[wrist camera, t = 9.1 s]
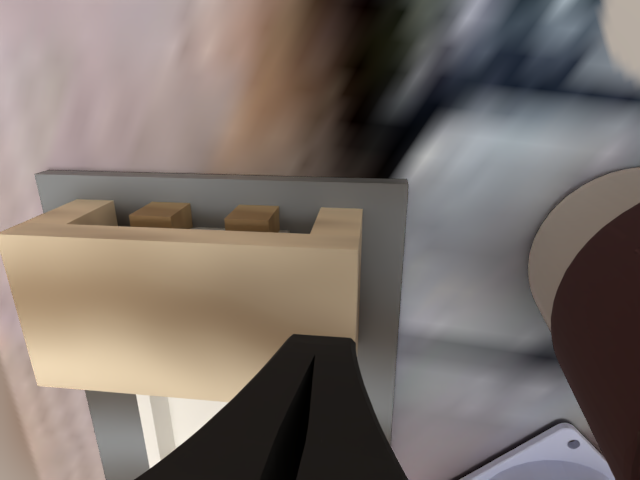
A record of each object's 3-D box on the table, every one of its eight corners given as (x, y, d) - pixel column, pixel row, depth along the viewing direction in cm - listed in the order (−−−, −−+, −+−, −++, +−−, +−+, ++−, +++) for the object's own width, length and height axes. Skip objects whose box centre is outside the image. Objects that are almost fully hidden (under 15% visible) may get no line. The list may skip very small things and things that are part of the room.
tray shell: (296, 460, 22) (289, 496, 20) (170, 448, 23) (152, 481, 21) (289, 230, 18) (279, 249, 16) (134, 224, 18) (107, 242, 17)
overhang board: (379, 576, 25) (380, 689, 21) (131, 544, 27) (80, 642, 22) (407, 179, 17) (417, 219, 12) (48, 170, 19) (-61, 202, 14)
